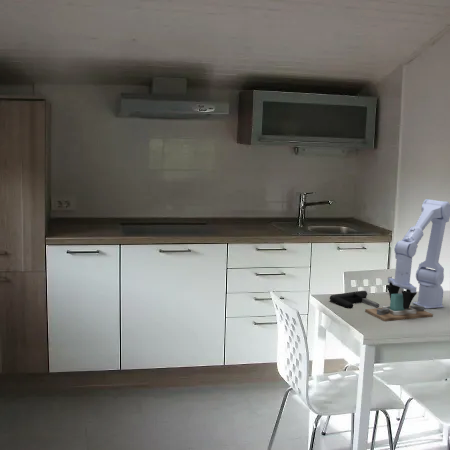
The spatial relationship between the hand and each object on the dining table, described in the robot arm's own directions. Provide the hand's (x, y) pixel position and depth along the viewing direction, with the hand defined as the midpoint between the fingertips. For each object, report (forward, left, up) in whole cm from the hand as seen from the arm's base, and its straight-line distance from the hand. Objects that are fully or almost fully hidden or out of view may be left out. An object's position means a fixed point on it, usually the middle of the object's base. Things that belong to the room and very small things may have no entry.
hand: (399, 305), depth 233 cm
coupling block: (+1, 0, -2) cm, 3 cm away
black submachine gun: (+7, -17, -4) cm, 19 cm away
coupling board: (0, 0, -3) cm, 3 cm away
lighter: (-17, -23, -4) cm, 29 cm away
